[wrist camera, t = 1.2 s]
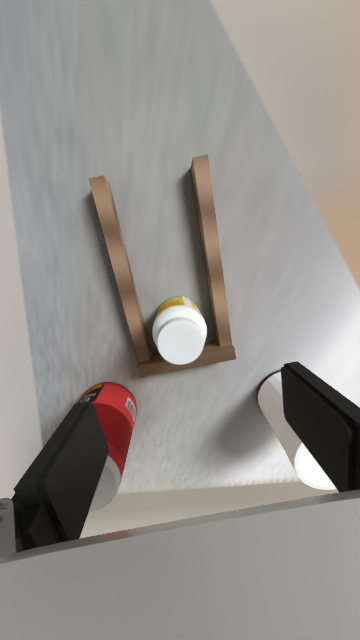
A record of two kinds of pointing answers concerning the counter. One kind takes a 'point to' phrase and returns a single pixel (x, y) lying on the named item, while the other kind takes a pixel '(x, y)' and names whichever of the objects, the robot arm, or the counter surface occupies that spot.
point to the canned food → (112, 434)
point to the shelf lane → (125, 283)
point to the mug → (289, 434)
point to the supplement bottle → (179, 330)
